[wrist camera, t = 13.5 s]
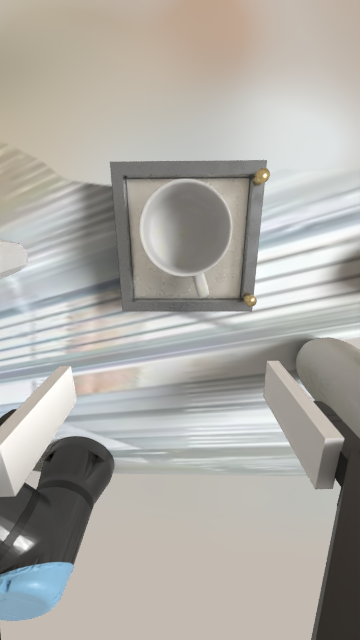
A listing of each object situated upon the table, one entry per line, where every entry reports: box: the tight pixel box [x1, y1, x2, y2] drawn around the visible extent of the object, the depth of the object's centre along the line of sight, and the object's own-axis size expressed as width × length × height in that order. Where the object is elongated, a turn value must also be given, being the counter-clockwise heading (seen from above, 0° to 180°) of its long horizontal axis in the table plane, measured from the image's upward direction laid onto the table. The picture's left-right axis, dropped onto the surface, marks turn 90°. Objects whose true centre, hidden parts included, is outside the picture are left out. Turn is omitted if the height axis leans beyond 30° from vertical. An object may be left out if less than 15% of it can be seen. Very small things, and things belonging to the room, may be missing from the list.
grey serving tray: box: [110, 160, 270, 311], centre depth 35 cm, size 20×20×7 cm
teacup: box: [139, 179, 232, 298], centre depth 31 cm, size 14×11×8 cm
